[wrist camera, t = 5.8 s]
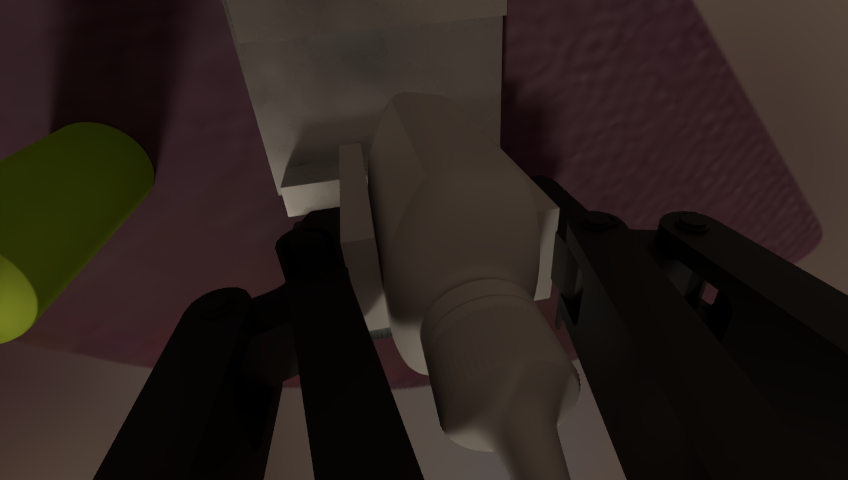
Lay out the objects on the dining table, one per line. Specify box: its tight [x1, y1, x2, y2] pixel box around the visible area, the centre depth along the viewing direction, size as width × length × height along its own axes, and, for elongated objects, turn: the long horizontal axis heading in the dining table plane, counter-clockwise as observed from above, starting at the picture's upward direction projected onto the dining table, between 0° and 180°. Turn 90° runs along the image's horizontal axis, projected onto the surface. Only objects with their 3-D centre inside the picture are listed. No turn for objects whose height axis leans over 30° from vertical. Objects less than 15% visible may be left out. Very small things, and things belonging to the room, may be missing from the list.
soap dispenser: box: [0, 122, 154, 343], centre depth 19 cm, size 6×7×20 cm
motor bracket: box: [222, 0, 507, 340], centre depth 27 cm, size 22×18×9 cm
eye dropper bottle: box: [367, 92, 581, 480], centre depth 11 cm, size 4×6×12 cm
